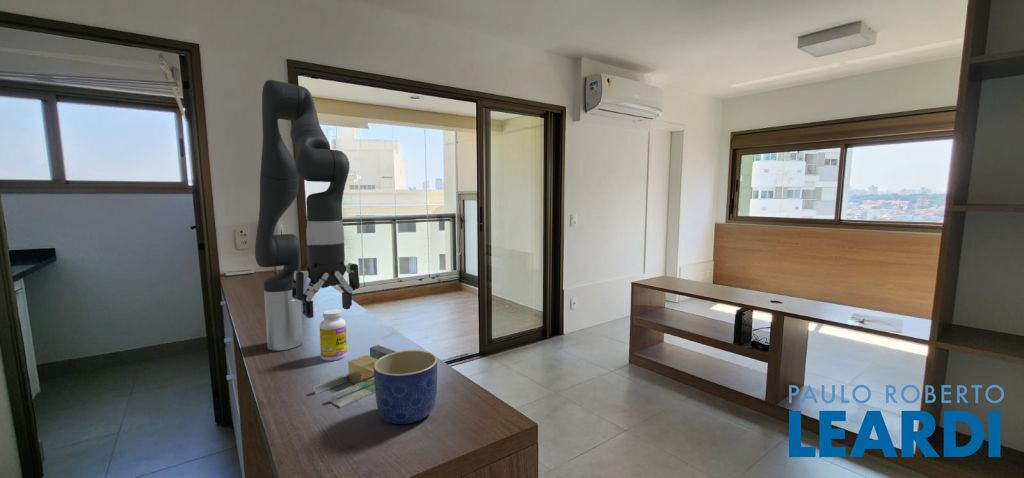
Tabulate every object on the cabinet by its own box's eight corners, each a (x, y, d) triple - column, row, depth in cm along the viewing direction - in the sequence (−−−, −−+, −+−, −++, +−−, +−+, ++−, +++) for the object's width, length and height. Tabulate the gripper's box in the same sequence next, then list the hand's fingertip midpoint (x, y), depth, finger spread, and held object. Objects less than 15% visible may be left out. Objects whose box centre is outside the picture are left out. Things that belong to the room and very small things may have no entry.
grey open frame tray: (313, 392, 90) (312, 367, 89) (378, 367, 103) (378, 345, 103) (340, 407, 83) (338, 379, 83) (405, 378, 97) (405, 354, 96)
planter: (405, 438, 73) (404, 380, 72) (361, 418, 79) (359, 365, 78) (450, 408, 83) (450, 357, 82) (408, 392, 90) (407, 345, 88)
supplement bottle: (337, 362, 106) (335, 315, 105) (315, 360, 108) (313, 314, 107) (352, 353, 113) (350, 308, 112) (331, 351, 114) (329, 307, 113)
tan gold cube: (349, 380, 95) (348, 361, 95) (367, 373, 99) (366, 355, 99) (370, 391, 90) (369, 370, 90) (388, 382, 94) (388, 363, 94)
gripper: (346, 237, 96) (348, 303, 97) (283, 242, 84) (287, 317, 86) (364, 239, 91) (366, 309, 93) (300, 245, 80) (304, 324, 82)
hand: (328, 312), depth 89 cm, fingers open, 8 cm apart
